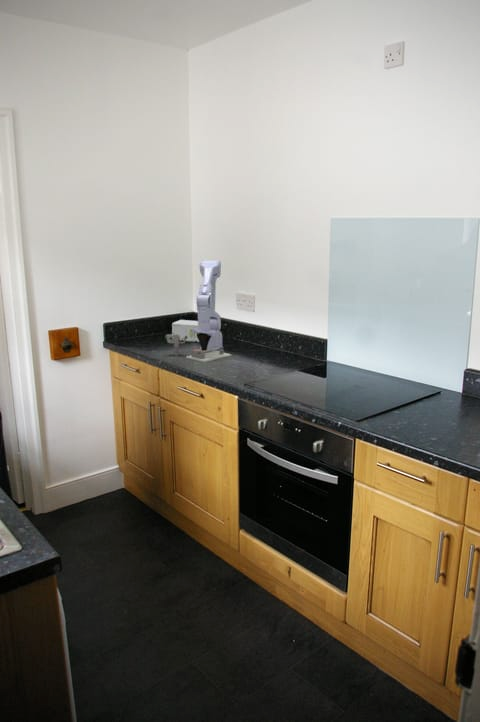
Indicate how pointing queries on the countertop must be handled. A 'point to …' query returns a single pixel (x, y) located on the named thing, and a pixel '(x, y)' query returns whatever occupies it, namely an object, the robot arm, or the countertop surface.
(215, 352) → the board
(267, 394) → the countertop surface
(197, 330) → the robot arm
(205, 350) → the strip
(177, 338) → the mechanical component
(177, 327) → the supplement box
